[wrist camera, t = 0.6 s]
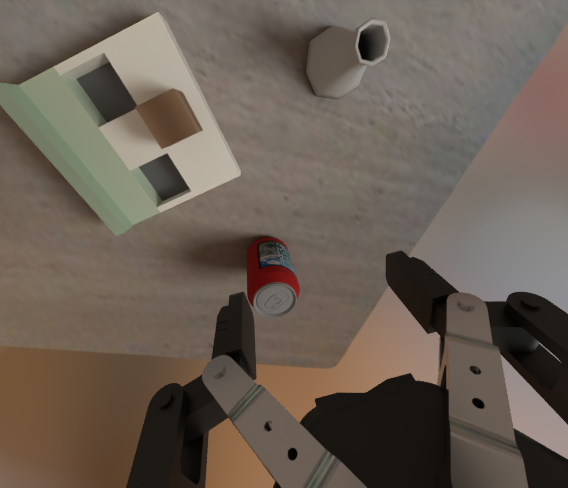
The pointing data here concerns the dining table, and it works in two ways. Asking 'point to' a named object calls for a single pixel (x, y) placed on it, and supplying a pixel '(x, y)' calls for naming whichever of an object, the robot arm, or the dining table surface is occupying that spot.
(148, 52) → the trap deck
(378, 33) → the flask
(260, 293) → the beverage can
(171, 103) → the walnut block
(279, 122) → the dining table surface
